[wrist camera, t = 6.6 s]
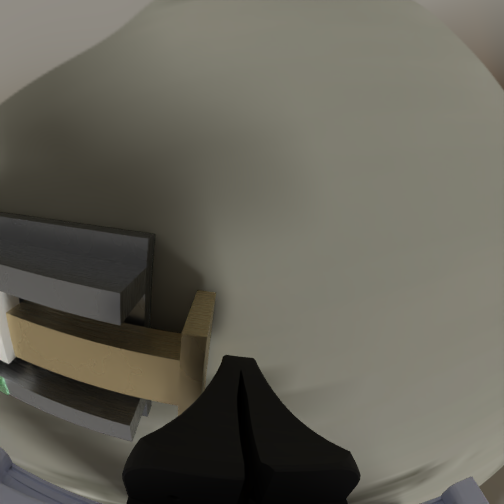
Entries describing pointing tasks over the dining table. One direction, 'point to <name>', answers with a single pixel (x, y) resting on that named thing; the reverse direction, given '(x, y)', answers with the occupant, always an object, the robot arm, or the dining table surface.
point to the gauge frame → (76, 308)
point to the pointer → (6, 327)
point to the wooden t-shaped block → (118, 351)
